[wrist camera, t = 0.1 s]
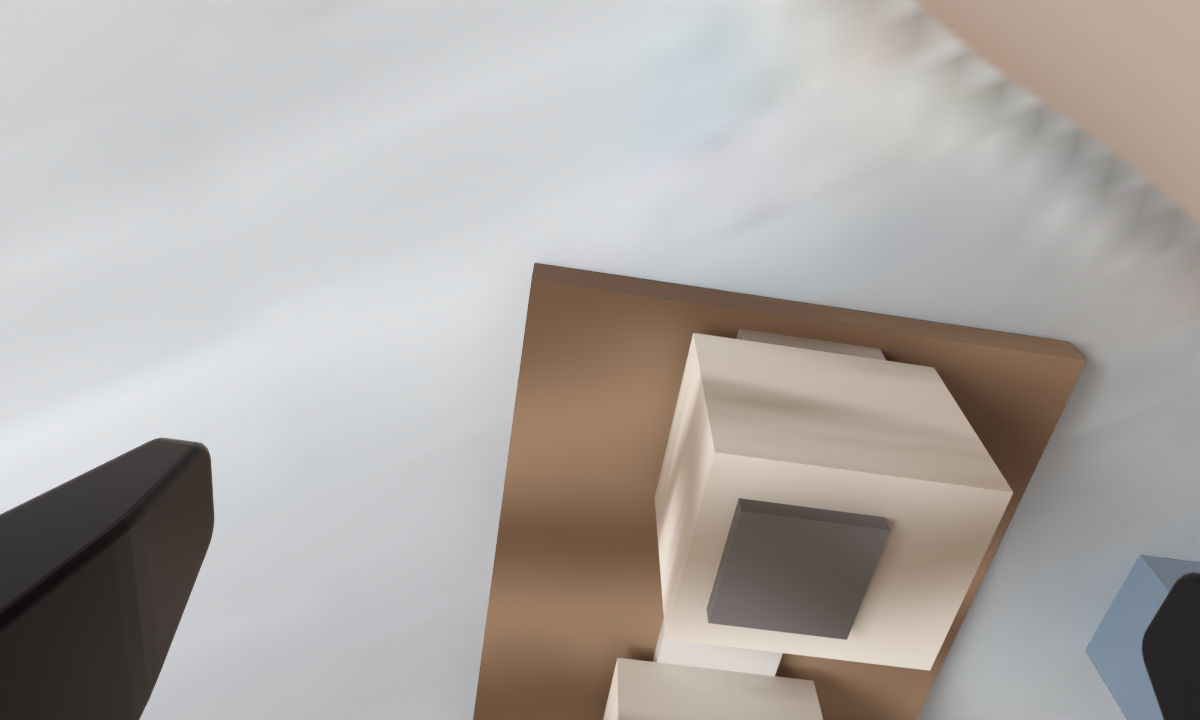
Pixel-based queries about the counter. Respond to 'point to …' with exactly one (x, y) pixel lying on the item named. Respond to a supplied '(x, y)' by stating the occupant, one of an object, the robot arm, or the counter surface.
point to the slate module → (1134, 634)
